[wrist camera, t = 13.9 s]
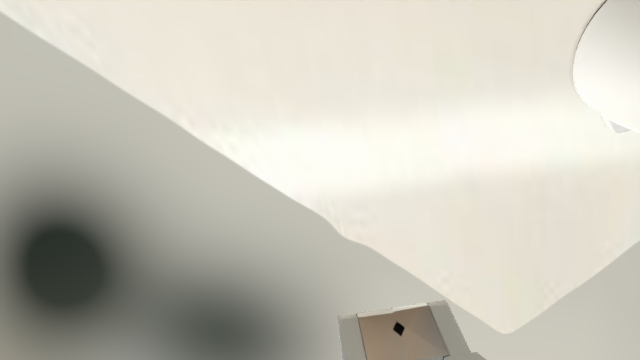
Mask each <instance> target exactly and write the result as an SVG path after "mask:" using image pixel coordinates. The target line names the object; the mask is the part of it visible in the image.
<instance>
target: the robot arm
mask: <svg viewBox="0 0 640 360" xmlns="http://www.w3.org/2000/svg"><path fill="white" fill-rule="evenodd" d="M573 81H574V86H575V89H576V92H577V94H578V96H579V97H580V99H581V100H582V101H583V102H584V103H585V104H586V105H587V106H589V107H590V108H592V109H594V110H595V111H597V112H598V113H599V114H600V115H601V117H602V120H603V122H604V124H605V126H606V128H607V129H608V130H610V131H613V132H615V133H623V132H626V131H629V130H633V131H635V132H638V133H640V0H607V1H606V2H605V4H604V5H603V6H602V7H601V8H600V9H599V10H598V12H597V13H596V14H595V16H594V17H593V18H592V20H591V21H590V23H589V24H588V26H587V28H586V30H585V31H584V33H583V35H582V37H581V40H580V42H579V44H578V47H577V50H576V54H575V58H574V64H573ZM338 324H339V334H340V343H341V351H342V359H343V360H486V359H485V358H484V357H482V356H481V355H480V354H478V353H477V352H473V353H471V351H470V350H469V348H468V345H467V343H466V341H465V339H464V337H463V335H462V333H461V331H460V328H459V326H458V324H457V322H456V320H455V318H454V316H453V314H452V312H451V309H450V307H449V305H448V303H447V302H446V301H444V300H442V301H435V302H429V303H419V304H413V305H407V306H401V307H395V308H391V309H386V310H378V311H370V312H361V313H353V314H345V315H338Z"/></svg>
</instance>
